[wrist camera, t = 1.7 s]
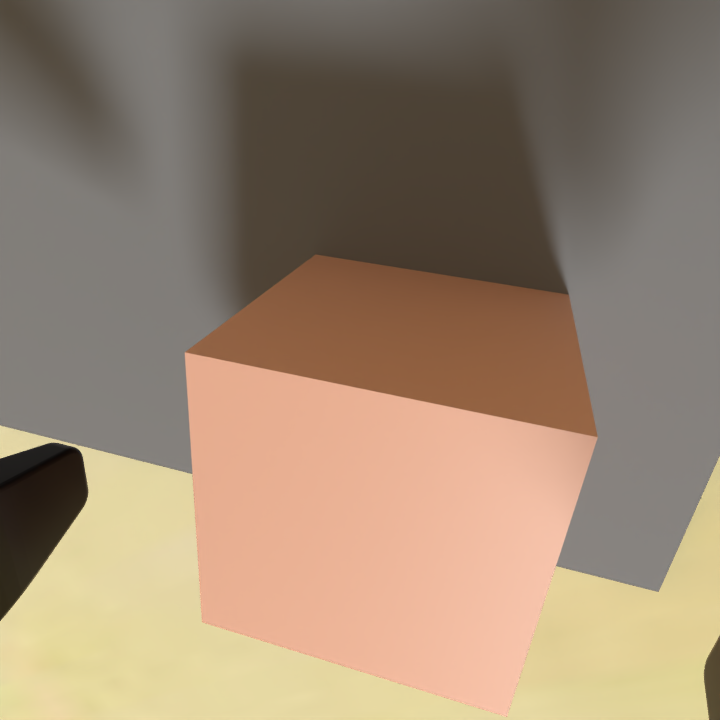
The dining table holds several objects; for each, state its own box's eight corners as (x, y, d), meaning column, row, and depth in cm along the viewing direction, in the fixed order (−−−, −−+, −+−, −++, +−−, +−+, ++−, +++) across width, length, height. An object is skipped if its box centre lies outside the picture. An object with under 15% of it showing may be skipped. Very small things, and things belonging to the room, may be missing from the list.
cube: (568, 294, 10) (597, 437, 6) (514, 503, 13) (506, 716, 8) (315, 254, 11) (184, 352, 7) (305, 454, 14) (201, 622, 9)
